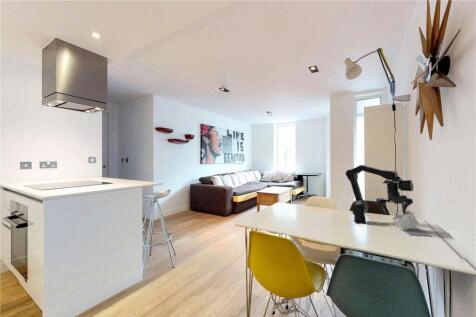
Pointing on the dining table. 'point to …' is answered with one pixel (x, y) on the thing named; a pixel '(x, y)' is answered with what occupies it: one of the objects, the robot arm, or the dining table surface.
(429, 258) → the dining table surface
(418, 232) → the mat
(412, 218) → the small box
